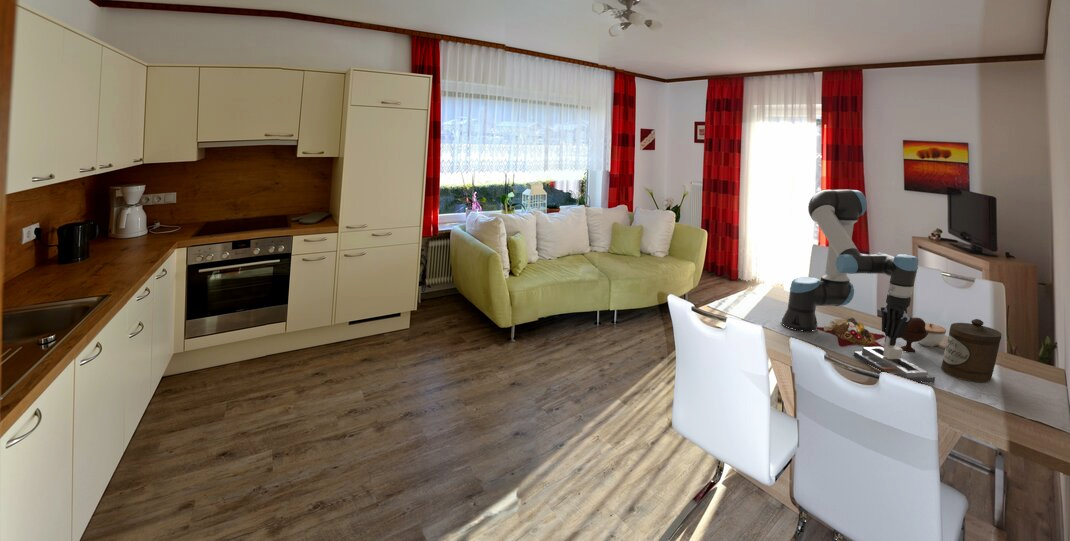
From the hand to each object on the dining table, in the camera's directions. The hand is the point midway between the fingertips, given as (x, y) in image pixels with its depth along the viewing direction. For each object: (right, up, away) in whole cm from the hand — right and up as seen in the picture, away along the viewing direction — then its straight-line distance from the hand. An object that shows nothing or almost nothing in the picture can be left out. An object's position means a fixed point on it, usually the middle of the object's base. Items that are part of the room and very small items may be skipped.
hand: (888, 351), depth 196 cm
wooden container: (+26, -8, -6) cm, 27 cm away
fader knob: (0, -4, -1) cm, 4 cm away
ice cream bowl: (+19, -2, +15) cm, 24 cm away
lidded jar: (+33, 0, +22) cm, 39 cm away
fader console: (0, -6, -2) cm, 6 cm away
